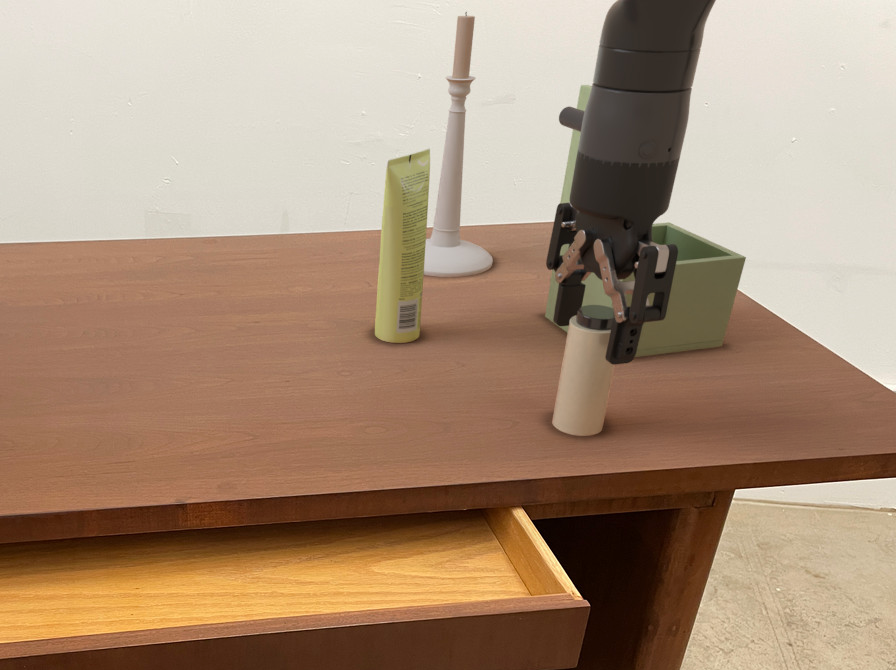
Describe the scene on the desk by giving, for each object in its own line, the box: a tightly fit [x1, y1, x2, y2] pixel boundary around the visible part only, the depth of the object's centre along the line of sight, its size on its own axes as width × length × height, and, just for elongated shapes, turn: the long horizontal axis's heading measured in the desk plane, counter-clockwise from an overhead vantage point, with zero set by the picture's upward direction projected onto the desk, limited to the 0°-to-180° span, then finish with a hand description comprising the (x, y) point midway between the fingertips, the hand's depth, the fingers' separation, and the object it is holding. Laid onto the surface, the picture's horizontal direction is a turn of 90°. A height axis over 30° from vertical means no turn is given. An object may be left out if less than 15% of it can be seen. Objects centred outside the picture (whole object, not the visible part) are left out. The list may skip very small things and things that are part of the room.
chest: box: [544, 222, 747, 358], centre depth 100 cm, size 14×13×10 cm
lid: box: [558, 84, 592, 204], centre depth 91 cm, size 15×13×5 cm
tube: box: [374, 147, 431, 344], centre depth 97 cm, size 6×5×20 cm
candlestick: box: [424, 11, 494, 278], centre depth 116 cm, size 13×13×30 cm
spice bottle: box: [551, 305, 617, 437], centre depth 81 cm, size 4×4×11 cm
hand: (590, 342), depth 80 cm, fingers open, 8 cm apart
